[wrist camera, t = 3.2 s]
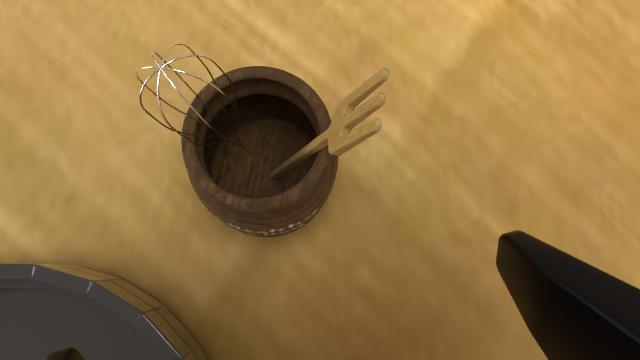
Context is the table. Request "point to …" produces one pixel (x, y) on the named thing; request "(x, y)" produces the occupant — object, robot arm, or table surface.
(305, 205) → the utensil holder
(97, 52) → the table surface
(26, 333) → the pan
